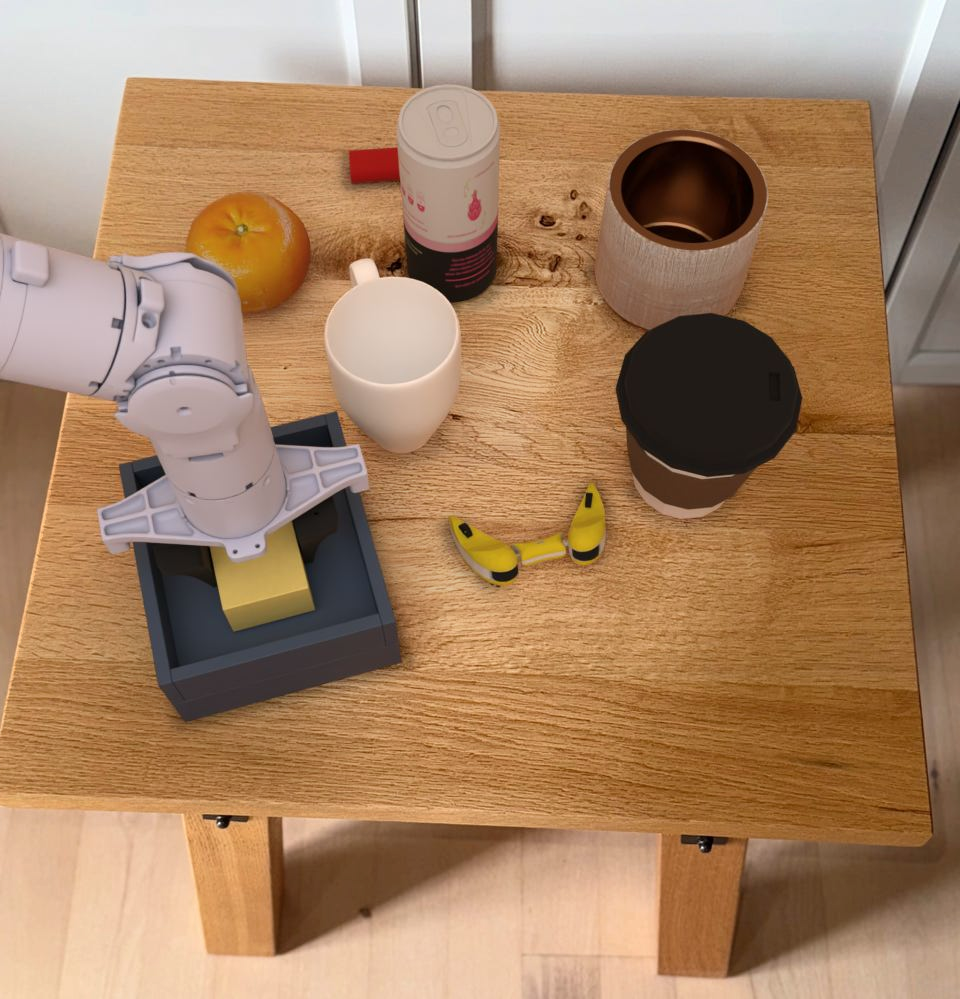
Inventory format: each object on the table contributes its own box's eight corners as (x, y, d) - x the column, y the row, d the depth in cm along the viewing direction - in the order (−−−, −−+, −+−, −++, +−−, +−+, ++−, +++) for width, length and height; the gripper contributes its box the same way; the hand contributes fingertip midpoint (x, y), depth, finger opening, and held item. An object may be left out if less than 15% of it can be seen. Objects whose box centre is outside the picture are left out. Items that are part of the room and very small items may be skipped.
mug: (479, 459, 81) (479, 365, 71) (361, 494, 80) (344, 404, 70) (424, 321, 86) (417, 215, 76) (312, 352, 85) (290, 249, 75)
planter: (683, 198, 92) (705, 104, 83) (771, 297, 88) (804, 209, 79) (564, 257, 89) (574, 166, 81) (649, 362, 85) (669, 278, 76)
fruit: (165, 308, 83) (203, 212, 78) (177, 246, 89) (213, 153, 84) (282, 350, 86) (325, 259, 81) (285, 286, 92) (326, 199, 88)
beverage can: (483, 227, 90) (485, 73, 77) (506, 296, 88) (512, 148, 74) (398, 245, 90) (385, 92, 76) (419, 315, 87) (409, 169, 73)
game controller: (475, 612, 75) (469, 572, 73) (451, 545, 80) (445, 506, 78) (626, 573, 76) (625, 533, 74) (594, 510, 81) (592, 470, 79)
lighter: (348, 146, 92) (452, 139, 93) (350, 158, 93) (452, 151, 94) (350, 175, 91) (455, 167, 91) (351, 186, 92) (455, 179, 93)
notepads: (233, 632, 72) (222, 610, 68) (208, 516, 75) (197, 490, 72) (315, 610, 72) (308, 587, 69) (287, 496, 76) (279, 469, 73)
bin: (185, 722, 73) (157, 685, 67) (146, 515, 79) (118, 464, 73) (402, 662, 75) (395, 621, 68) (347, 464, 81) (336, 410, 75)
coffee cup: (760, 415, 83) (803, 311, 72) (764, 559, 78) (810, 471, 67) (602, 403, 83) (621, 298, 73) (595, 546, 78) (615, 456, 68)
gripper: (85, 555, 59) (151, 651, 71) (375, 482, 60) (391, 588, 73) (66, 435, 62) (133, 547, 74) (343, 369, 64) (363, 488, 76)
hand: (259, 560), depth 73 cm, fingers closed on notepads, 5 cm apart
